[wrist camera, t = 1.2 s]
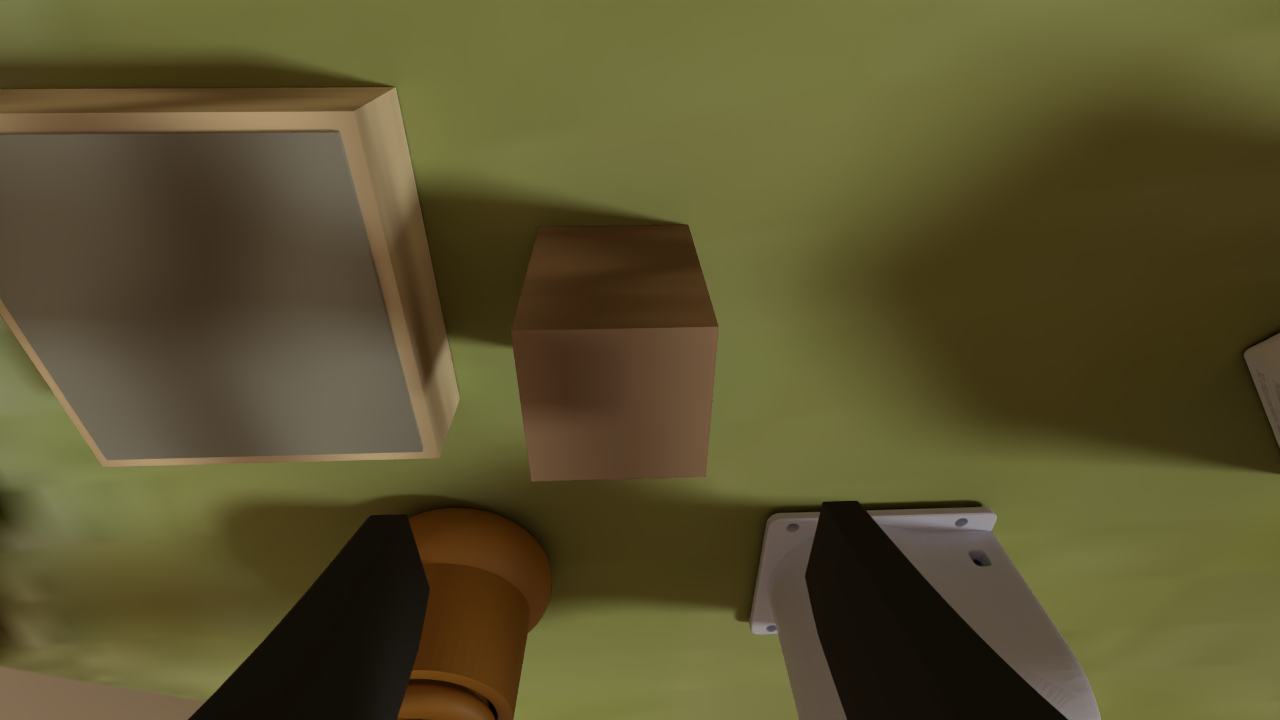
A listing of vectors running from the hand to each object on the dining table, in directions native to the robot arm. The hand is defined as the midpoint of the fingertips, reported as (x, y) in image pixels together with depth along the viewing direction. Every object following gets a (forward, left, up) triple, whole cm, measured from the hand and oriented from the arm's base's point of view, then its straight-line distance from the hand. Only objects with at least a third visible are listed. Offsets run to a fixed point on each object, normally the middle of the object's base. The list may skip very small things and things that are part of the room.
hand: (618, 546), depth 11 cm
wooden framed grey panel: (+10, -1, -10) cm, 14 cm away
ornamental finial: (+7, +13, -10) cm, 17 cm away
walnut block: (0, 0, -10) cm, 10 cm away
